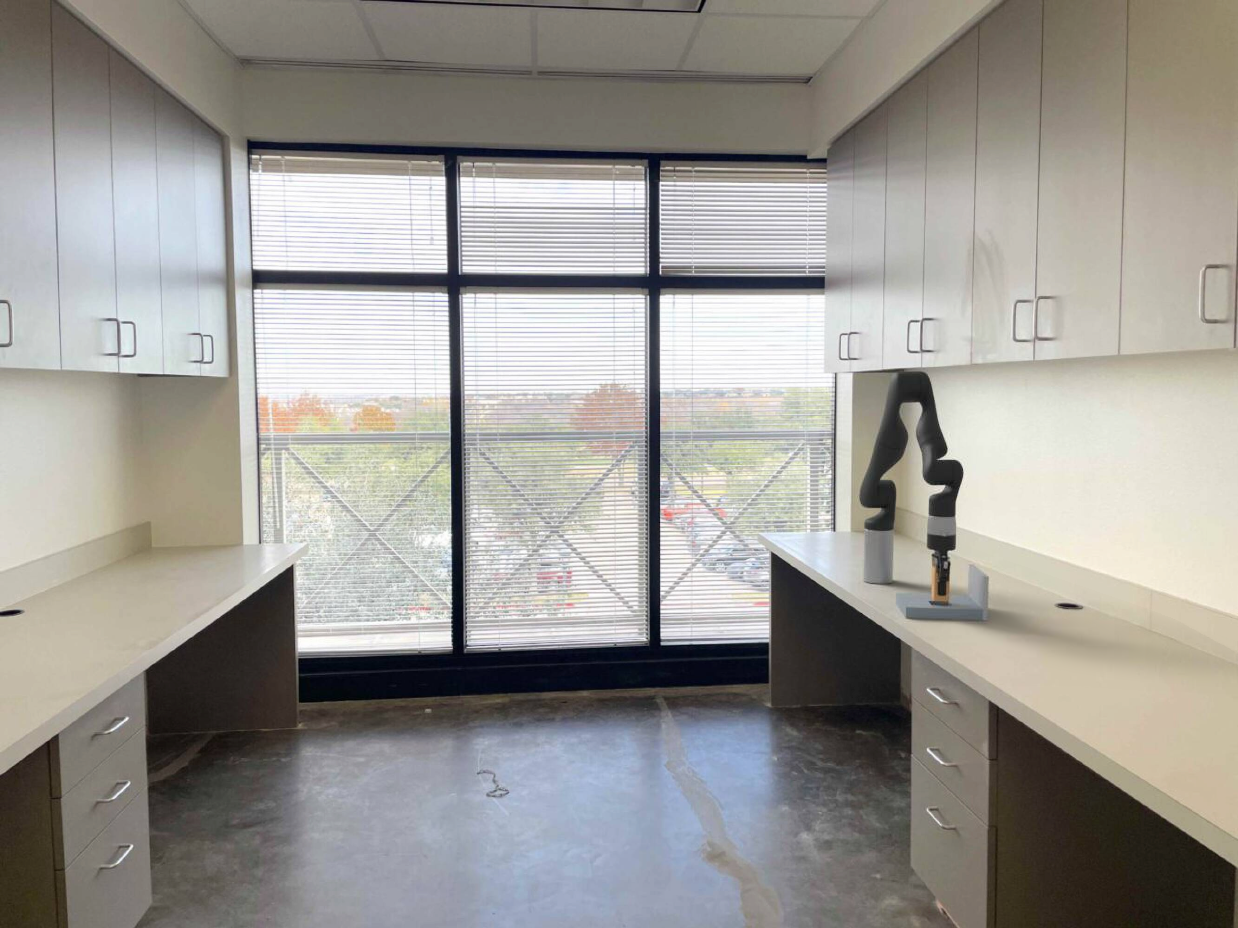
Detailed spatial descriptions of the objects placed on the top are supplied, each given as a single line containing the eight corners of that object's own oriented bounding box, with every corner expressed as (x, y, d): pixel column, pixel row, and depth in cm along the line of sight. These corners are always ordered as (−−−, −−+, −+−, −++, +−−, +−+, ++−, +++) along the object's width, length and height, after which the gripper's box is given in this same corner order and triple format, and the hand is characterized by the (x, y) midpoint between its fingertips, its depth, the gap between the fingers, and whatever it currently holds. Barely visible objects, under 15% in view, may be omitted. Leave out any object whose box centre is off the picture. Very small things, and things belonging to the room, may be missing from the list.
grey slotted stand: (895, 603, 266) (896, 562, 266) (971, 605, 263) (973, 564, 262) (905, 617, 249) (906, 574, 248) (987, 620, 246) (988, 576, 245)
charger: (931, 597, 255) (931, 565, 254) (946, 598, 254) (946, 565, 254) (933, 601, 251) (934, 568, 250) (949, 601, 251) (949, 568, 250)
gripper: (922, 528, 259) (921, 588, 260) (932, 535, 245) (930, 598, 246) (950, 528, 258) (949, 588, 259) (961, 536, 244) (959, 599, 245)
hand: (940, 593), depth 253 cm, fingers closed on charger, 4 cm apart
